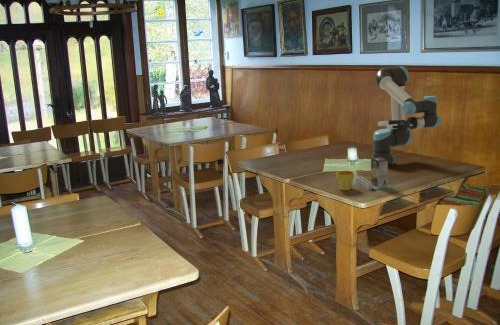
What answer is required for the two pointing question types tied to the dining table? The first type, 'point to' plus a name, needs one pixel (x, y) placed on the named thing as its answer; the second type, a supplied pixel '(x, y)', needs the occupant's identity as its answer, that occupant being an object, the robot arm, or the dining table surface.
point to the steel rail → (365, 183)
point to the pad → (382, 187)
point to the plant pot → (345, 179)
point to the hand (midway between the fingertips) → (382, 125)
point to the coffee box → (379, 172)
